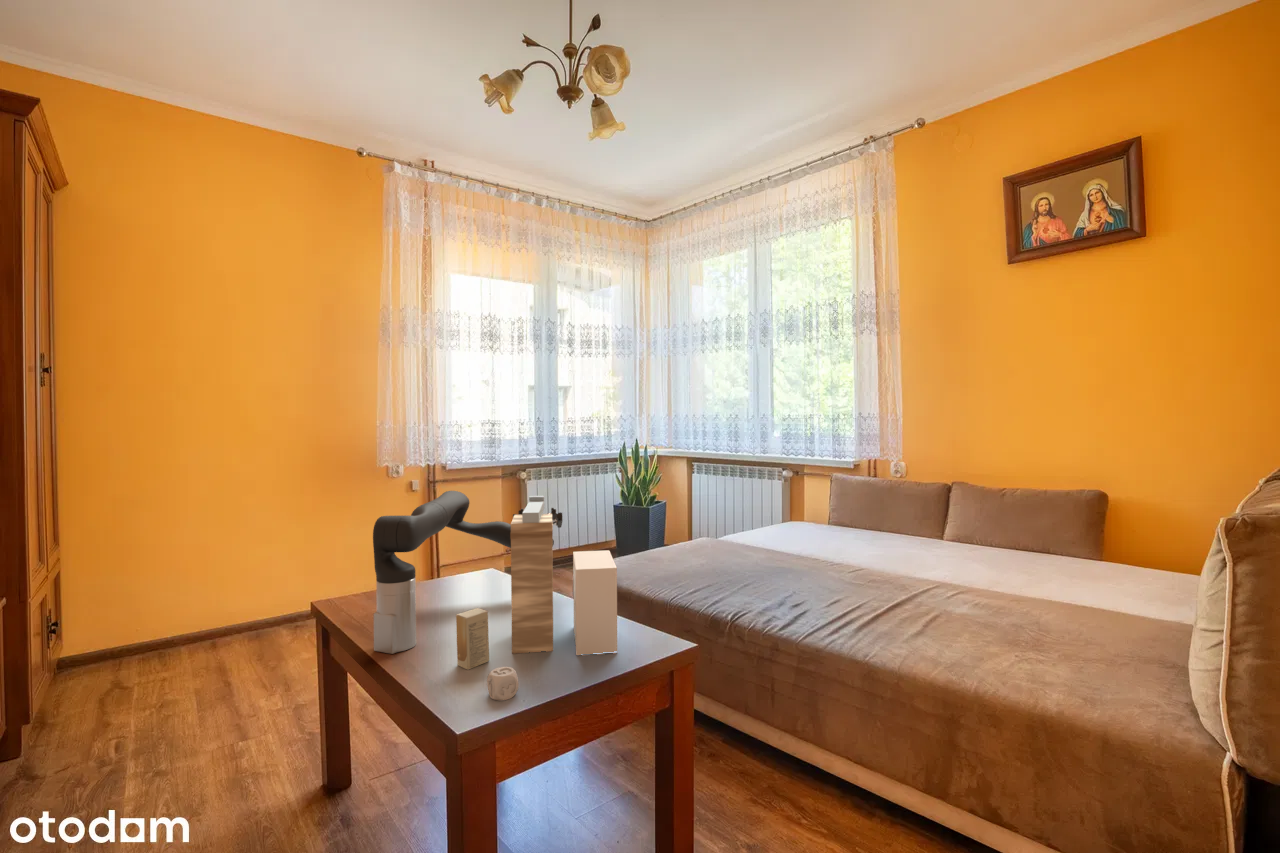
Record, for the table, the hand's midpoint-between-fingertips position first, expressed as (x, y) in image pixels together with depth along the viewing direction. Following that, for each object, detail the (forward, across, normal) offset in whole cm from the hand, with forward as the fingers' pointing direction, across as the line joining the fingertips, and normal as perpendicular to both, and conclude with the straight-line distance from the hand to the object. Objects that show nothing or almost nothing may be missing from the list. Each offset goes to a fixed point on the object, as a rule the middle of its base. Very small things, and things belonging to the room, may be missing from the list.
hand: (537, 511), depth 168 cm
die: (+22, +6, -50) cm, 55 cm away
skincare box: (+7, +15, -41) cm, 44 cm away
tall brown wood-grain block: (-3, +1, -35) cm, 35 cm away
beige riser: (-2, -15, -36) cm, 38 cm away
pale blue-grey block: (+9, 0, -5) cm, 10 cm away
